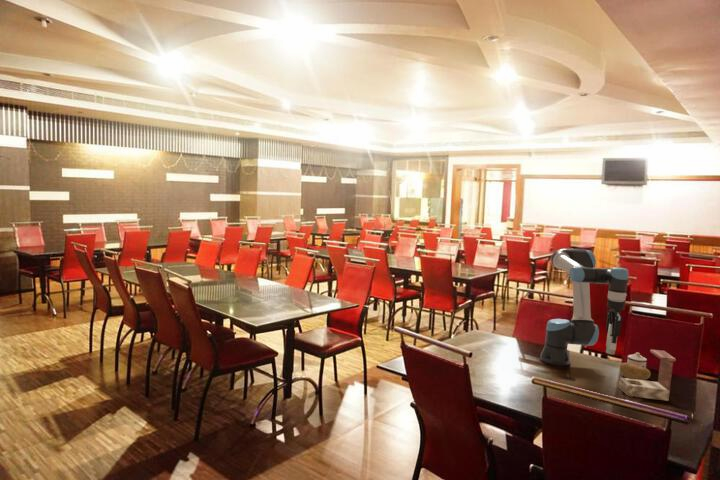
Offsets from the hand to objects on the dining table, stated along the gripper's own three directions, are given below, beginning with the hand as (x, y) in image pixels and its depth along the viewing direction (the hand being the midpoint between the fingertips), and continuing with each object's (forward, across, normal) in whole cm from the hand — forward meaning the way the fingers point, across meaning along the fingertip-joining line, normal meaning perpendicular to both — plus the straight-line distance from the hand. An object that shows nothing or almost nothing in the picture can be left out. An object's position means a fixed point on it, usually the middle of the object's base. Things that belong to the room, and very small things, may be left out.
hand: (610, 347), depth 229 cm
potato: (+20, +16, -18) cm, 31 cm away
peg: (+3, 0, 0) cm, 3 cm away
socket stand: (+20, -3, -15) cm, 25 cm away
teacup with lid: (+20, +27, -23) cm, 41 cm away
